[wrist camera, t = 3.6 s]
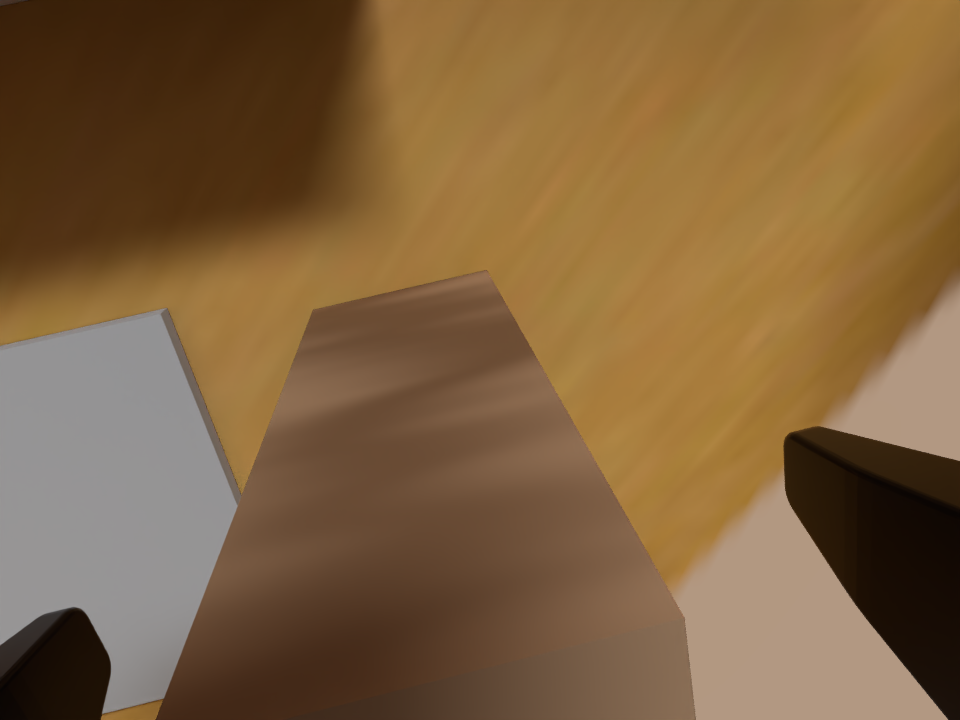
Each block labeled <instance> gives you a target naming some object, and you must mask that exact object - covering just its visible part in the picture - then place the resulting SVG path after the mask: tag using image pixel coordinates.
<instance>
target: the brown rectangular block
mask: <svg viewBox="0 0 960 720" xmlns="http://www.w3.org/2000/svg"><path fill="white" fill-rule="evenodd" d="M156 720H696V717H695V709H694V699H693V691H692V682H691V673H690V663H689V654H688V645H687V636H686V628H685V618H684V616H683V614H682V613H681V611H680V609H679V607H678V605H677V604H676V602H675V600H674V598H673V597H672V595H671V593H670V591H669V590H668V588H667V586H666V584H665V583H664V581H663V579H662V577H661V576H660V574H659V572H658V570H657V569H656V567H655V565H654V563H653V562H652V560H651V558H650V556H649V555H648V553H647V551H646V549H645V547H644V546H643V544H642V542H641V540H640V539H639V537H638V535H637V533H636V532H635V530H634V528H633V526H632V525H631V523H630V521H629V519H628V518H627V516H626V514H625V512H624V511H623V509H622V507H621V505H620V504H619V502H618V500H617V498H616V497H615V495H614V493H613V491H612V489H611V488H610V486H609V484H608V482H607V481H606V479H605V477H604V475H603V474H602V472H601V470H600V468H599V467H598V465H597V463H596V461H595V460H594V458H593V456H592V454H591V453H590V451H589V449H588V447H587V446H586V444H585V442H584V440H583V439H582V437H581V435H580V433H579V431H578V430H577V428H576V426H575V424H574V423H573V421H572V419H571V417H570V416H569V414H568V412H567V410H566V409H565V407H564V405H563V403H562V402H561V400H560V398H559V396H558V395H557V393H556V391H555V389H554V388H553V386H552V384H551V382H550V381H549V379H548V377H547V375H546V373H545V372H544V370H543V368H542V366H541V365H540V363H539V361H538V359H537V358H536V356H535V354H534V352H533V351H532V349H531V347H530V345H529V344H528V342H527V340H526V338H525V337H524V335H523V333H522V331H521V330H520V328H519V326H518V324H517V323H516V321H515V319H514V317H513V315H512V314H511V312H510V310H509V308H508V307H507V305H506V303H505V301H504V300H503V298H502V296H501V294H500V293H499V291H498V289H497V287H496V286H495V284H494V282H493V280H492V279H491V277H490V275H489V273H488V272H487V270H485V271H480V272H476V273H472V274H467V275H463V276H459V277H454V278H450V279H446V280H441V281H437V282H433V283H428V284H424V285H420V286H415V287H411V288H406V289H402V290H398V291H393V292H389V293H385V294H380V295H376V296H372V297H367V298H363V299H359V300H354V301H350V302H345V303H341V304H337V305H332V306H328V307H324V308H319V309H315V310H313V311H312V314H311V317H310V319H309V322H308V324H307V327H306V330H305V332H304V335H303V337H302V340H301V343H300V345H299V348H298V350H297V353H296V356H295V358H294V361H293V363H292V366H291V369H290V371H289V374H288V376H287V379H286V382H285V384H284V387H283V389H282V392H281V395H280V397H279V400H278V403H277V405H276V408H275V410H274V413H273V416H272V418H271V421H270V423H269V426H268V429H267V431H266V434H265V436H264V439H263V442H262V444H261V447H260V449H259V452H258V455H257V457H256V460H255V462H254V465H253V468H252V470H251V473H250V475H249V478H248V481H247V483H246V486H245V488H244V491H243V494H242V496H241V499H240V501H239V504H238V507H237V509H236V512H235V514H234V517H233V520H232V522H231V525H230V528H229V530H228V533H227V535H226V538H225V541H224V543H223V546H222V548H221V551H220V554H219V556H218V559H217V561H216V564H215V567H214V569H213V572H212V574H211V577H210V580H209V582H208V585H207V587H206V590H205V593H204V595H203V598H202V600H201V603H200V606H199V608H198V611H197V613H196V616H195V619H194V621H193V624H192V626H191V629H190V632H189V634H188V637H187V640H186V642H185V645H184V647H183V650H182V653H181V655H180V658H179V660H178V663H177V666H176V668H175V671H174V673H173V676H172V679H171V681H170V684H169V686H168V689H167V692H166V694H165V697H164V699H163V702H162V705H161V707H160V710H159V712H158V715H157V718H156Z"/></svg>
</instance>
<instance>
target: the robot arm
mask: <svg viewBox="0 0 960 720" xmlns="http://www.w3.org/2000/svg"><path fill="white" fill-rule="evenodd" d="M784 475H785V491H786V495H787V498H788V501H789V503H790V505H791V507H792V509H793V510H794V512H795V513H796V515H797V517H798V518H799V520H800V521H801V523H802V524H803V526H804V527H805V529H806V530H807V532H808V533H809V535H810V536H811V538H812V540H813V541H814V543H815V544H816V546H817V547H818V549H819V550H820V552H821V553H822V555H823V556H824V558H825V559H826V561H827V563H828V564H829V566H830V567H831V568H832V570H833V572H834V573H835V575H836V576H837V578H838V579H839V581H840V582H841V584H842V586H843V587H844V589H845V590H846V592H847V593H848V594H849V596H850V597H851V599H852V600H853V602H854V603H855V605H856V606H857V607H858V609H859V610H860V611H861V612H862V614H863V615H864V616H865V618H866V619H867V620H868V621H869V623H870V624H871V625H872V626H873V628H874V629H875V630H876V631H877V633H878V634H879V635H880V636H881V637H882V638H883V640H884V641H885V642H886V644H887V645H888V646H889V647H890V648H891V650H892V651H893V652H894V653H895V655H896V656H897V657H898V658H899V660H900V661H901V662H902V663H903V665H904V666H905V667H906V668H907V669H908V671H909V672H910V673H911V674H912V675H913V677H914V678H915V679H916V680H917V682H918V683H919V684H920V685H921V687H922V688H923V689H924V690H925V691H926V693H927V694H928V695H929V697H930V698H931V699H932V700H933V701H934V703H935V704H936V705H937V706H938V708H939V709H940V710H941V711H942V713H943V714H944V715H945V716H946V717H947V719H948V720H960V461H957V460H953V459H949V458H945V457H941V456H937V455H933V454H929V453H925V452H921V451H917V450H912V449H909V448H905V447H901V446H897V445H892V444H889V443H885V442H881V441H877V440H873V439H869V438H864V437H860V436H857V435H853V434H848V433H844V432H840V431H836V430H832V429H828V428H824V427H819V426H817V427H811V428H807V429H803V430H798V431H794V432H791V433H789V434H788V435H787V436H786V437H785V440H784ZM110 677H111V661H110V657H109V655H108V652H107V650H106V649H105V647H104V645H103V643H102V641H101V639H100V637H99V636H98V634H97V632H96V630H95V628H94V626H93V625H92V623H91V621H90V619H89V617H88V615H87V614H86V613H85V612H84V611H83V610H82V609H80V608H77V607H70V608H66V609H62V610H58V611H54V612H50V613H46V614H43V615H41V616H39V617H38V618H36V619H35V620H34V621H32V622H31V623H30V624H28V625H27V626H25V627H24V628H23V629H21V630H20V631H19V632H17V633H16V634H15V635H13V636H12V637H11V638H9V639H8V640H6V641H5V642H4V643H2V644H1V645H0V720H101V716H102V712H103V707H104V703H105V699H106V694H107V690H108V686H109V681H110Z"/></svg>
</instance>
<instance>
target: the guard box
mask: <svg viewBox="0 0 960 720" xmlns="http://www.w3.org/2000/svg"><path fill="white" fill-rule="evenodd" d="M22 1H27V0H0V6H3V5H8V4H12V3H17V2H22Z"/></svg>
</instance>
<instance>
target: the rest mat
mask: <svg viewBox="0 0 960 720" xmlns="http://www.w3.org/2000/svg"><path fill="white" fill-rule="evenodd" d="M240 499H241V494H240V491H239V489H238V486H237V484H236V481H235V479H234V476H233V474H232V471H231V469H230V466H229V463H228V461H227V458H226V456H225V453H224V451H223V448H222V446H221V443H220V441H219V438H218V436H217V433H216V431H215V428H214V426H213V423H212V420H211V418H210V415H209V413H208V410H207V408H206V405H205V403H204V400H203V398H202V395H201V393H200V390H199V388H198V385H197V383H196V380H195V378H194V375H193V372H192V370H191V367H190V365H189V362H188V360H187V357H186V355H185V352H184V350H183V347H182V345H181V342H180V340H179V337H178V335H177V332H176V329H175V327H174V324H173V322H172V319H171V317H170V314H169V312H168V309H167V308H165V309H160V310H156V311H152V312H147V313H143V314H138V315H134V316H130V317H125V318H121V319H116V320H112V321H108V322H103V323H99V324H95V325H90V326H86V327H81V328H77V329H73V330H68V331H64V332H59V333H55V334H51V335H46V336H42V337H37V338H33V339H29V340H24V341H20V342H15V343H11V344H7V345H2V346H0V645H1V644H2V643H4V642H5V641H6V640H8V639H9V638H11V637H12V636H13V635H15V634H16V633H17V632H19V631H20V630H21V629H23V628H24V627H25V626H27V625H28V624H30V623H31V622H32V621H34V620H35V619H36V618H38V617H39V616H41V615H43V614H46V613H50V612H54V611H58V610H62V609H66V608H70V607H77V608H80V609H82V610H83V611H84V612H85V613H86V614H87V615H88V617H89V619H90V621H91V623H92V625H93V626H94V628H95V630H96V632H97V634H98V636H99V637H100V639H101V641H102V643H103V645H104V647H105V649H106V650H107V652H108V655H109V657H110V661H111V677H110V681H109V686H108V690H107V694H106V699H105V703H104V707H103V712H102V714H104V713H108V712H112V711H116V710H120V709H124V708H128V707H132V706H136V705H140V704H144V703H148V702H152V701H156V700H160V699H164V697H165V694H166V692H167V689H168V686H169V684H170V681H171V679H172V676H173V673H174V671H175V668H176V666H177V663H178V660H179V658H180V655H181V653H182V650H183V647H184V645H185V642H186V640H187V637H188V634H189V632H190V629H191V626H192V624H193V621H194V619H195V616H196V613H197V611H198V608H199V606H200V603H201V600H202V598H203V595H204V593H205V590H206V587H207V585H208V582H209V580H210V577H211V574H212V572H213V569H214V567H215V564H216V561H217V559H218V556H219V554H220V551H221V548H222V546H223V543H224V541H225V538H226V535H227V533H228V530H229V528H230V525H231V522H232V520H233V517H234V514H235V512H236V509H237V507H238V504H239V501H240Z"/></svg>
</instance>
